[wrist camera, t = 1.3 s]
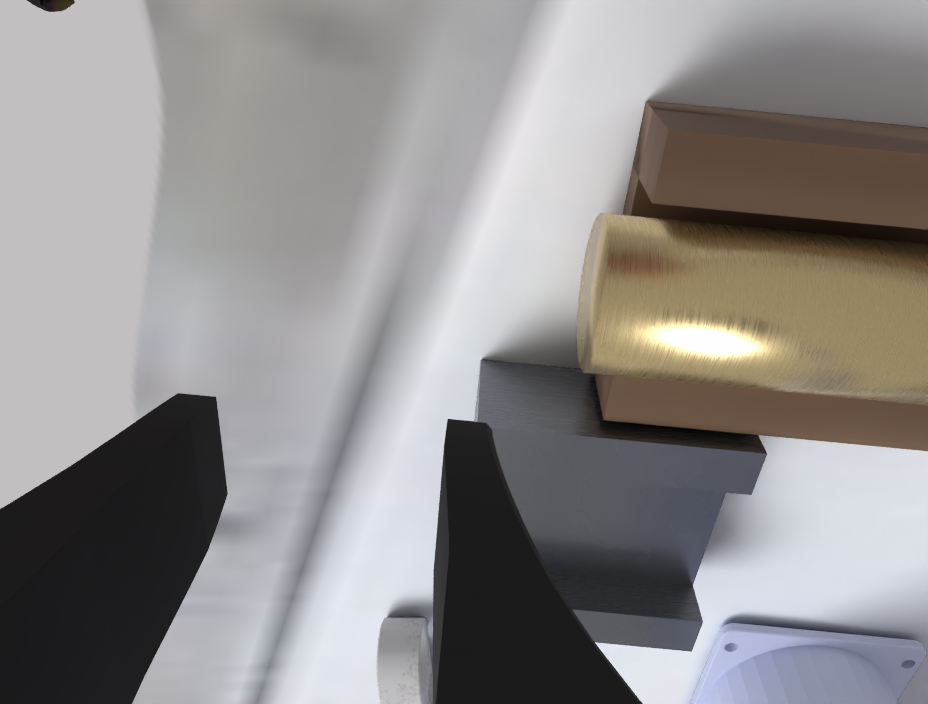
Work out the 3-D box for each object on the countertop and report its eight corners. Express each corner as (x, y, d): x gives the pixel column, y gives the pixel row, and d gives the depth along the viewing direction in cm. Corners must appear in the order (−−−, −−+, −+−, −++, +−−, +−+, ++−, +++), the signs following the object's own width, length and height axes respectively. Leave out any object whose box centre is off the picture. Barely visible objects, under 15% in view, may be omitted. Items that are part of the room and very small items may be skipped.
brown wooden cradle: (1098, 411, 23) (1174, 474, 20) (592, 363, 23) (603, 420, 20) (1264, 159, 18) (1387, 198, 16) (646, 101, 19) (668, 130, 16)
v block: (670, 570, 27) (691, 651, 24) (460, 550, 27) (454, 628, 24) (732, 383, 23) (767, 453, 20) (481, 359, 23) (477, 426, 20)
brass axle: (1061, 231, 19) (1178, 314, 15) (984, 356, 21) (1071, 451, 18) (598, 187, 19) (616, 261, 15) (573, 316, 21) (583, 404, 18)
